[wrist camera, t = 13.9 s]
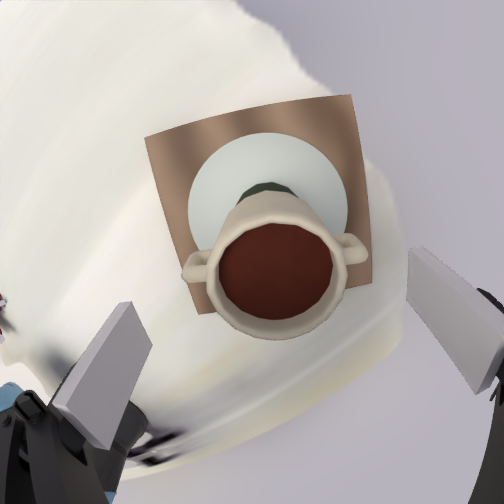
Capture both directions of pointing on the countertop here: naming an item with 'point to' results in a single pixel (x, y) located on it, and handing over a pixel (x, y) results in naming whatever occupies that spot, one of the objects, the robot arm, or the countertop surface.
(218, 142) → the stand
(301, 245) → the character mug
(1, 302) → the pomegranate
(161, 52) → the countertop surface
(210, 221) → the saucer
